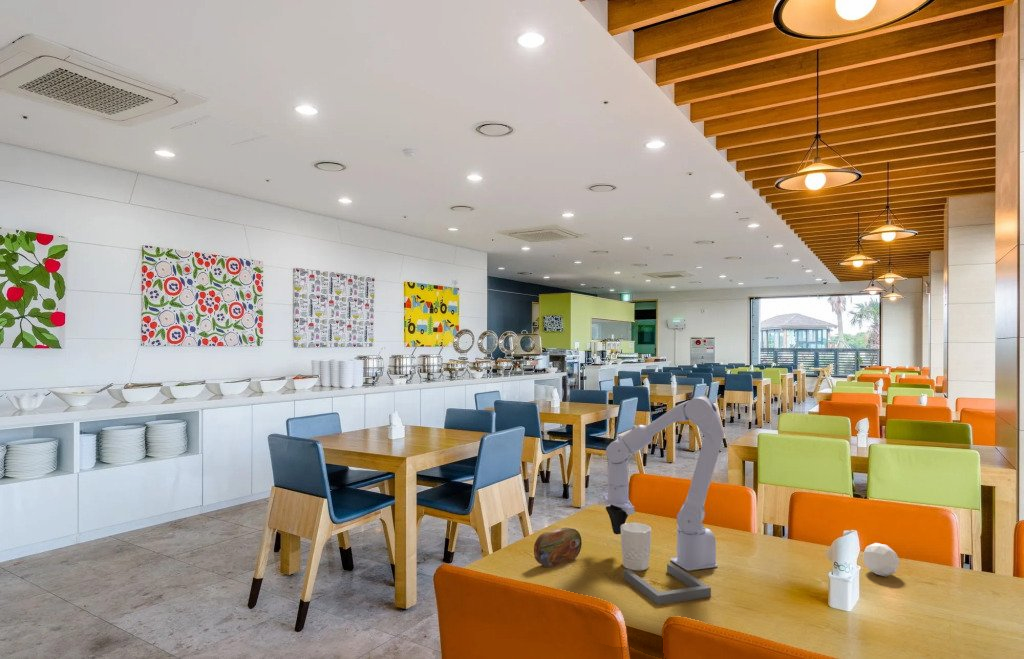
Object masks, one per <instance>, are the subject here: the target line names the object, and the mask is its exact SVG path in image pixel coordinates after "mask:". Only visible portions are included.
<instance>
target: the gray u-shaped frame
mask: <svg viewBox="0 0 1024 659" xmlns="http://www.w3.org/2000/svg"><path fill="white" fill-rule="evenodd" d="M622 571H623V572H622V573H623V574H622V578H623V579H625V580H626V581H627V582H628V583H629V584H630V585H632V586H633V587H634V588H635V589H637V590H638V591H639V592H641V593H642V594H643V595H644V596H646V597H647V598H649V600H651V601H652V602H653V603H655V604H656V605H657V606H659V605H666V604H665V603H667V604H671V603H670V602H673V603H679V602H678V601H680V602H685V601H691V600H698V599H704V598H711V597H712V588H711V587H710V586H709V585H707V584H705V582H702V581H701V580H699V579H698V578H696V577H695V576H693V575H691V574H690V573H689V572H687V571H685V569H683V568H681V567H680V566H678V565H677V564H676V565H675V563H671V562H670V563H667V564H666V572H667V573H668V574H670V575H671V576H673V577H674V578H676V579H677V580H678V581H680V582H681V583H683V584H684V585H686V586H687V587H685V588H679V589H671V590H666V591H659V590H658V589H656V588H655V587H654V586H652V584H650V583H649V582H647V581H646V580H644V579H643V578H642V577H640V576H639V575H637V574H636V573H635V572H634V571H633V570H630V569H628V568H625V569H623V570H622Z"/></svg>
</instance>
